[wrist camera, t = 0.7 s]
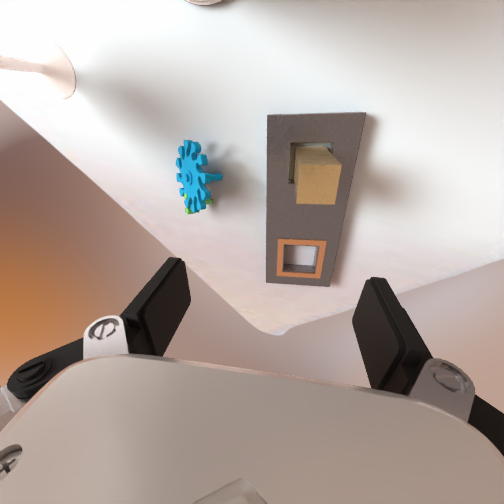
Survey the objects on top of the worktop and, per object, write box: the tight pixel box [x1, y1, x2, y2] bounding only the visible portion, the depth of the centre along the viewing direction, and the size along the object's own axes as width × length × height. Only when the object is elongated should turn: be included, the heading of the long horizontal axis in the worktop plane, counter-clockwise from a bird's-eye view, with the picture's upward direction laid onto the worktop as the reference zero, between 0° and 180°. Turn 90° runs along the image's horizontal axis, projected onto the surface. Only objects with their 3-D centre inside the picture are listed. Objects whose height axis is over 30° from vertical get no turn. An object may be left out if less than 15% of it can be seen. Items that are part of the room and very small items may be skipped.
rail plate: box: [266, 112, 366, 287], centre depth 37 cm, size 28×12×2 cm, turn 1°
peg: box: [294, 146, 342, 205], centre depth 28 cm, size 4×4×12 cm
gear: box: [176, 140, 223, 214], centre depth 34 cm, size 11×6×10 cm
